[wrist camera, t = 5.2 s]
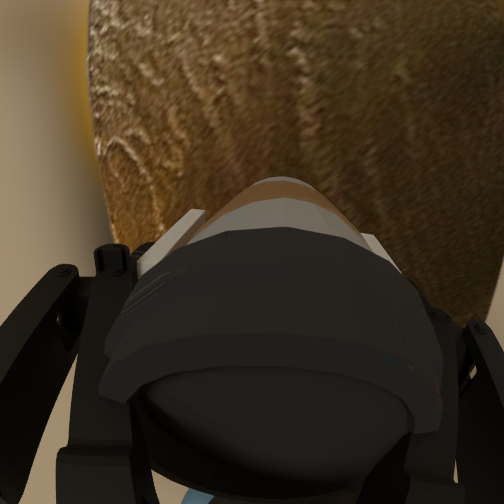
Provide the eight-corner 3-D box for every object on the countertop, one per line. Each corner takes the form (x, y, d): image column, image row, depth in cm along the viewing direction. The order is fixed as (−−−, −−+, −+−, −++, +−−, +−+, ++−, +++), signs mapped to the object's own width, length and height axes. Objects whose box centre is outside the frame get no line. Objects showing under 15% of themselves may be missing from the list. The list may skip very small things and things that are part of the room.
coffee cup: (276, 303, 21) (257, 516, 7) (190, 220, 19) (40, 401, 5) (370, 230, 18) (491, 430, 4) (285, 130, 16) (296, 125, 2)
